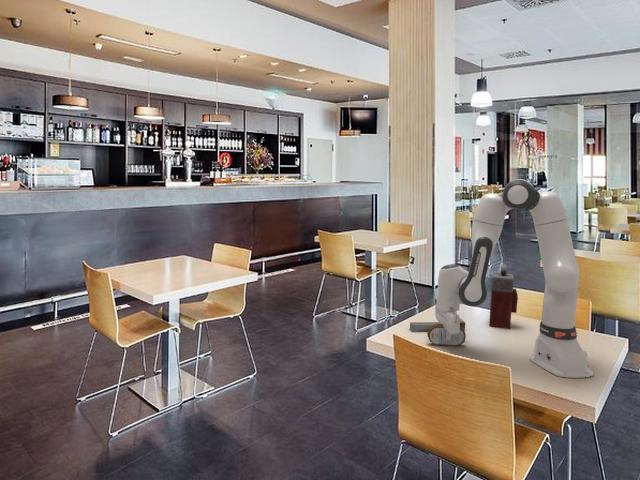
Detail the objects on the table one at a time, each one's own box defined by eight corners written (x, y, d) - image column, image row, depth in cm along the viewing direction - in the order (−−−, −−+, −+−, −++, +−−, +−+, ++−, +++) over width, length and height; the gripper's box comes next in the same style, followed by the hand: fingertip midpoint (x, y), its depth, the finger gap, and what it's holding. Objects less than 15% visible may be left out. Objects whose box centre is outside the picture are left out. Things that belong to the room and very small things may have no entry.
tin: (464, 344, 198) (465, 324, 196) (465, 347, 195) (467, 327, 193) (426, 342, 199) (427, 323, 198) (427, 345, 196) (428, 325, 195)
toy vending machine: (515, 329, 216) (520, 268, 212) (489, 326, 220) (493, 266, 216) (515, 323, 225) (520, 264, 220) (490, 320, 229) (494, 262, 224)
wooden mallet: (464, 341, 201) (465, 322, 200) (419, 341, 200) (419, 323, 199) (451, 328, 217) (452, 311, 216) (409, 328, 216) (410, 311, 215)
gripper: (465, 312, 184) (462, 347, 186) (447, 297, 204) (446, 329, 206) (448, 312, 184) (446, 347, 186) (433, 297, 204) (431, 329, 206)
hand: (446, 337), depth 196 cm, fingers closed on tin, 3 cm apart
